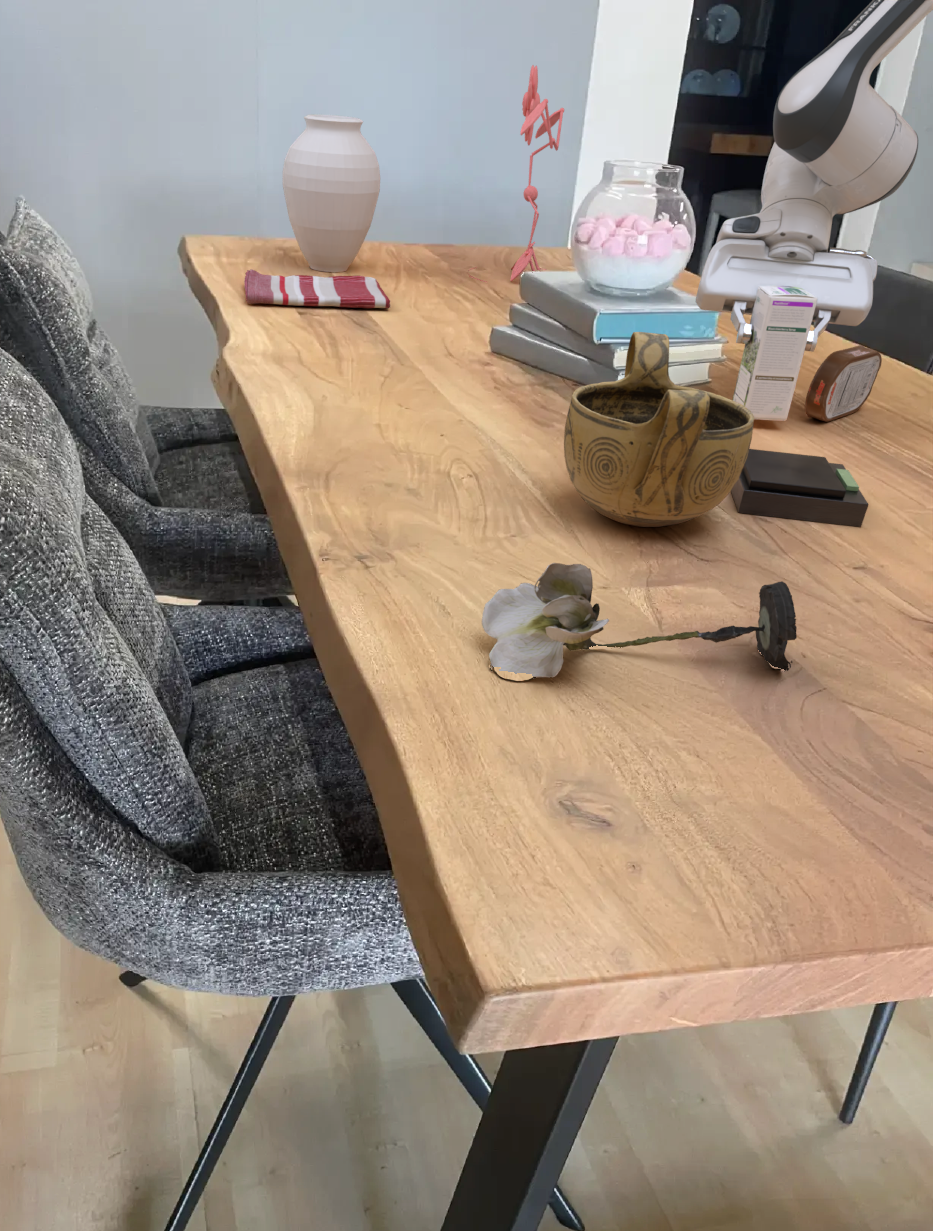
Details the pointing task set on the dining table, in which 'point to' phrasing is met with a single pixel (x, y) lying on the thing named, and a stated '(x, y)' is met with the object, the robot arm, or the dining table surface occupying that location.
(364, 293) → the dish towel
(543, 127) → the figurine
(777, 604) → the artificial flower
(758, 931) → the dining table surface
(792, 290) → the syrup box
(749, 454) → the scale
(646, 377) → the ceramic bowl
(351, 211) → the vase
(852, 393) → the tin
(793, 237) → the robot arm
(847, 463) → the dining table surface
